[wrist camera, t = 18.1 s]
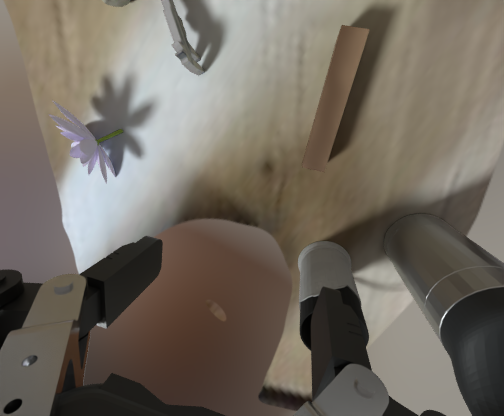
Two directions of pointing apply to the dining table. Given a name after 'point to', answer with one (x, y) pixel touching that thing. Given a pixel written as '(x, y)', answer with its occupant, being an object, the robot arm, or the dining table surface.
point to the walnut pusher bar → (334, 96)
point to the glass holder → (326, 283)
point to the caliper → (181, 39)
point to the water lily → (84, 142)
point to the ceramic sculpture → (116, 2)
